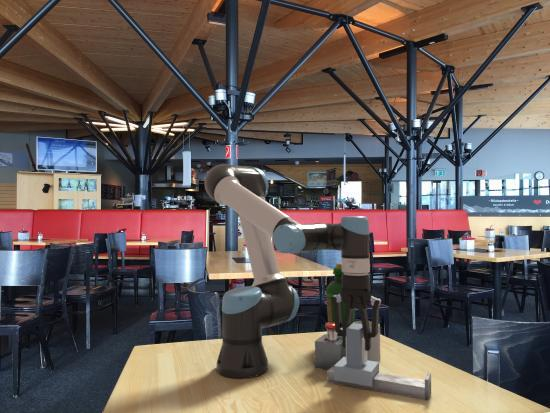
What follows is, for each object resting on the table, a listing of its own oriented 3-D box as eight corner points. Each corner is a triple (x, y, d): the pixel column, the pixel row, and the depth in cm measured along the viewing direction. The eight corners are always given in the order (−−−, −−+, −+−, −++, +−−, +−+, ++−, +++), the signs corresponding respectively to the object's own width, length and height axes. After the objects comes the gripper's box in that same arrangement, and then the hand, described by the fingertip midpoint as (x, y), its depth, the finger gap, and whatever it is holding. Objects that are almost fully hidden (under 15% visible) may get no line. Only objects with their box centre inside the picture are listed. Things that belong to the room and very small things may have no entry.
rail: (327, 382, 116) (327, 363, 116) (333, 376, 120) (333, 358, 121) (428, 400, 104) (428, 379, 104) (431, 392, 108) (430, 373, 109)
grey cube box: (315, 368, 127) (314, 340, 127) (324, 359, 134) (324, 334, 134) (341, 372, 123) (340, 344, 123) (349, 363, 130) (349, 337, 130)
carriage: (334, 380, 114) (333, 327, 114) (343, 370, 121) (343, 321, 121) (371, 386, 109) (370, 332, 109) (379, 376, 116) (378, 324, 116)
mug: (380, 364, 129) (380, 328, 129) (352, 363, 131) (351, 326, 131) (379, 352, 141) (379, 318, 141) (353, 350, 143) (352, 317, 143)
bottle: (340, 337, 159) (339, 261, 159) (363, 343, 150) (362, 263, 151) (319, 342, 152) (319, 263, 152) (342, 349, 144) (341, 266, 144)
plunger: (323, 355, 128) (323, 324, 128) (328, 351, 131) (328, 321, 131) (336, 357, 126) (336, 326, 126) (341, 353, 129) (340, 323, 130)
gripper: (321, 273, 116) (322, 360, 115) (383, 277, 108) (384, 370, 108) (330, 270, 123) (331, 352, 122) (390, 273, 115) (391, 361, 114)
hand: (356, 360), depth 115 cm, fingers closed on carriage, 4 cm apart
